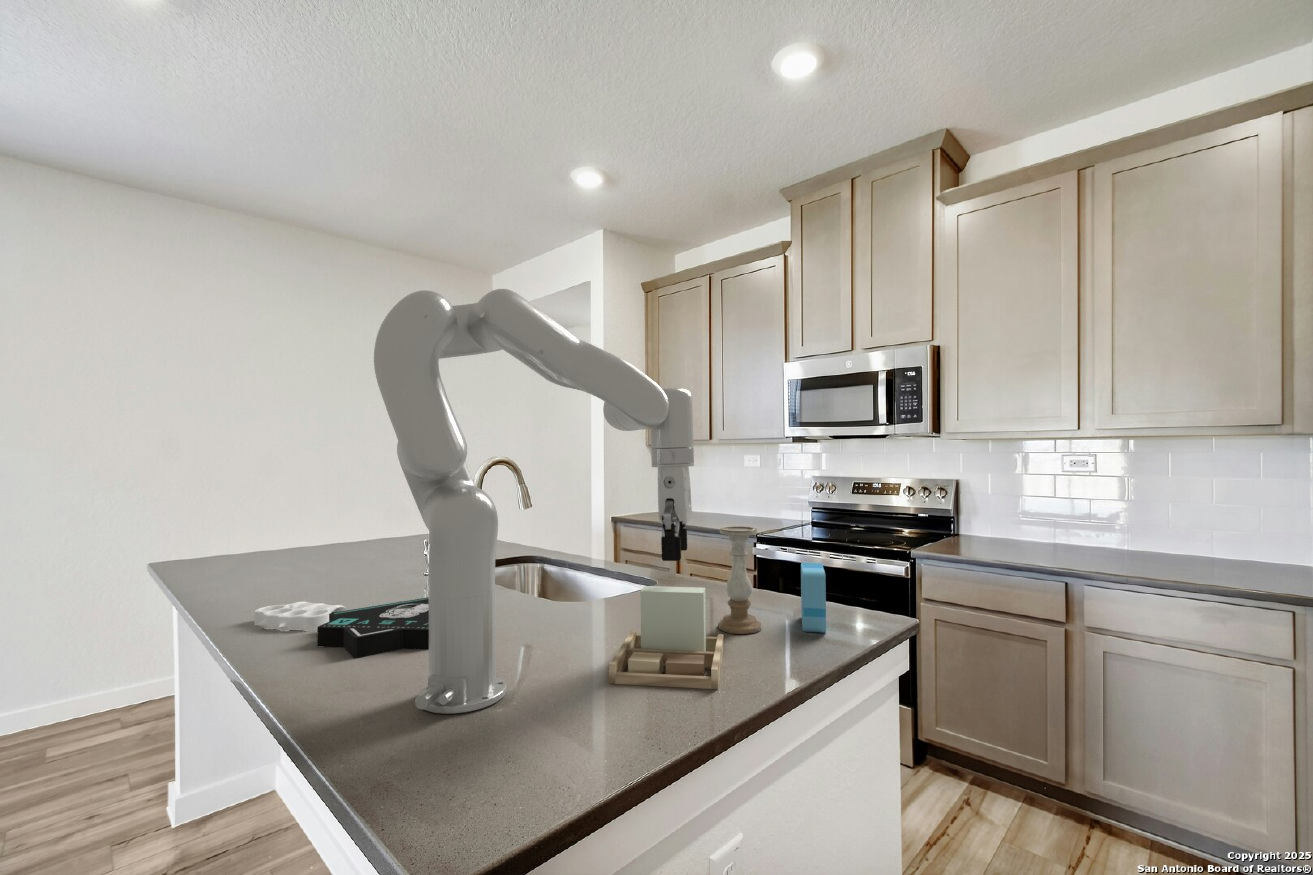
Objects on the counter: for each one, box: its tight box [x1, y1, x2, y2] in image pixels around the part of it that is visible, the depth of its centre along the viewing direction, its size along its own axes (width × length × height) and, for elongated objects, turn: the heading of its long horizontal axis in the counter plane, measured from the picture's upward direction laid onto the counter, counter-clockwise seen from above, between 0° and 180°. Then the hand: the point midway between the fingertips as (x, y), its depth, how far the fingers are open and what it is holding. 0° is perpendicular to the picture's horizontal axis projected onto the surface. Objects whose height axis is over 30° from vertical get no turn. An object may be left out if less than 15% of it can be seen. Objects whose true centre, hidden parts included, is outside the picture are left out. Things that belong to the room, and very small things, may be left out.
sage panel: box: [640, 585, 707, 651], centre depth 106 cm, size 4×11×12 cm, turn 81°
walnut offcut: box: [665, 654, 706, 676], centre depth 97 cm, size 4×6×3 cm, turn 83°
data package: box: [800, 562, 827, 633], centre depth 125 cm, size 12×4×12 cm, turn 167°
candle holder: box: [717, 525, 762, 635], centre depth 123 cm, size 9×9×20 cm
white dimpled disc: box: [253, 601, 348, 632], centre depth 130 cm, size 3×18×15 cm
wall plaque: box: [316, 596, 429, 659], centre depth 122 cm, size 30×4×30 cm
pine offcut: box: [627, 652, 664, 674], centre depth 99 cm, size 4×5×3 cm
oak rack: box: [608, 630, 725, 690], centre depth 102 cm, size 18×17×3 cm
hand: (675, 555), depth 107 cm, fingers open, 9 cm apart
